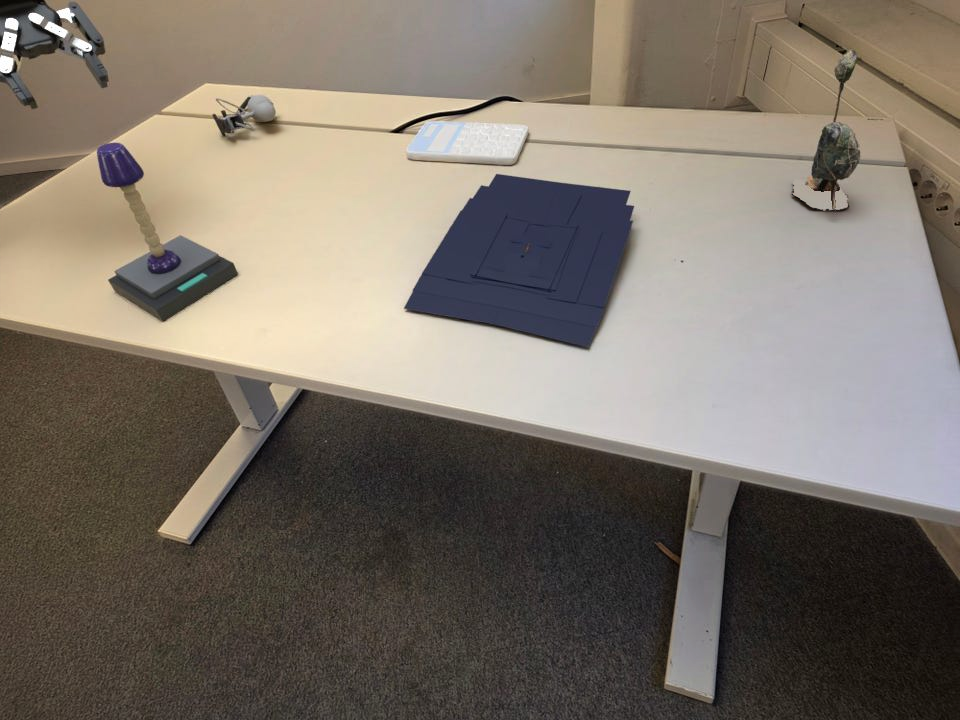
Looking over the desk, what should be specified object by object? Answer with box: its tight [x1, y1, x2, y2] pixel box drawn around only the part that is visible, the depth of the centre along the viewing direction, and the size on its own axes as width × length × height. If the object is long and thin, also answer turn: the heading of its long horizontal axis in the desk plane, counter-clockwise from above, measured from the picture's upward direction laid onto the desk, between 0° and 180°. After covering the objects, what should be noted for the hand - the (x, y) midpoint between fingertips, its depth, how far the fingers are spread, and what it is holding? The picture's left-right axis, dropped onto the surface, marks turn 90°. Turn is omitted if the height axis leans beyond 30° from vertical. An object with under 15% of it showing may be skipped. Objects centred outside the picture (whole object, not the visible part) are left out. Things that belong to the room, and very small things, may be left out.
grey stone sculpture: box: [805, 49, 862, 209], centre depth 82 cm, size 8×11×20 cm
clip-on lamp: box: [211, 94, 277, 137], centre depth 121 cm, size 12×6×18 cm
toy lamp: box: [96, 142, 181, 274], centre depth 76 cm, size 5×5×17 cm
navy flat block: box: [403, 173, 635, 348], centre depth 82 cm, size 24×30×4 cm
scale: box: [107, 234, 239, 322], centre depth 83 cm, size 12×12×3 cm
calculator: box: [405, 120, 530, 166], centre depth 109 cm, size 13×20×2 cm, turn 76°
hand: (69, 94), depth 76 cm, fingers open, 8 cm apart
